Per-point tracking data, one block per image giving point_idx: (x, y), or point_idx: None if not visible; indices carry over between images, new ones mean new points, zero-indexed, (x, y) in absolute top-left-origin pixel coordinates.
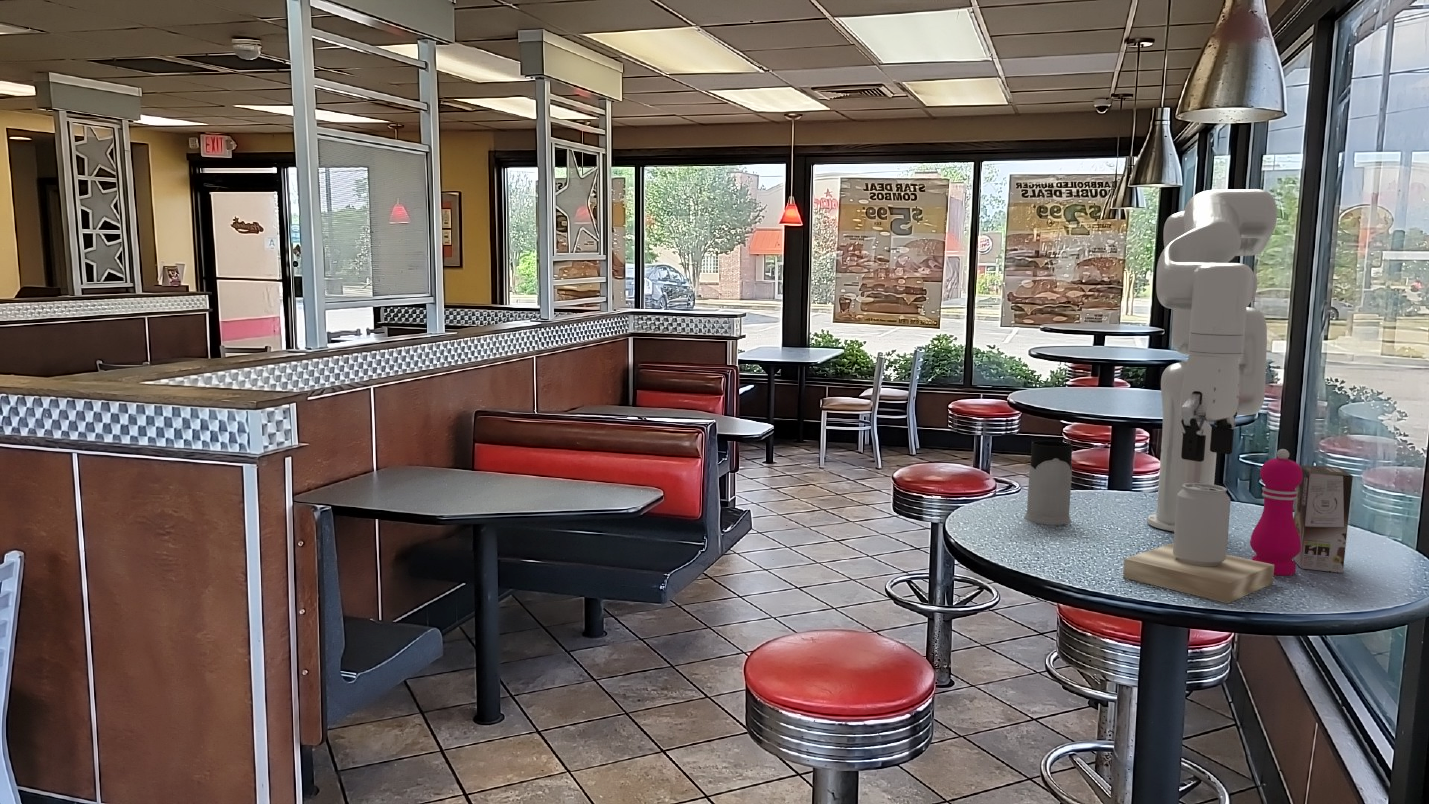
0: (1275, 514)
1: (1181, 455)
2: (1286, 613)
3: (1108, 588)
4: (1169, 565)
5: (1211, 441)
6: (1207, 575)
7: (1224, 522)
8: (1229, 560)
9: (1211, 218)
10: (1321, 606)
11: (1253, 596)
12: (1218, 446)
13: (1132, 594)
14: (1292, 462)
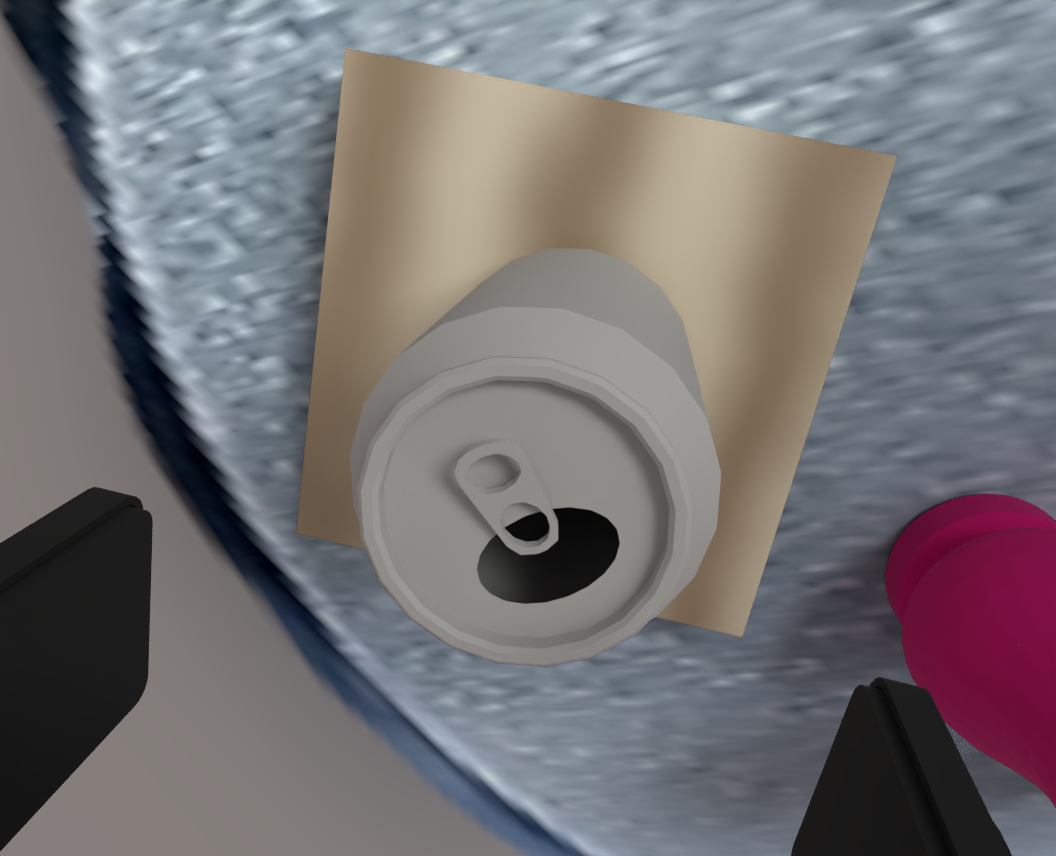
0: (1032, 749)
1: (82, 495)
2: (357, 662)
3: (162, 65)
4: (388, 272)
5: (888, 776)
6: (342, 444)
7: (497, 563)
8: None
9: None
10: (527, 742)
11: None
12: (847, 813)
13: (160, 180)
14: None
